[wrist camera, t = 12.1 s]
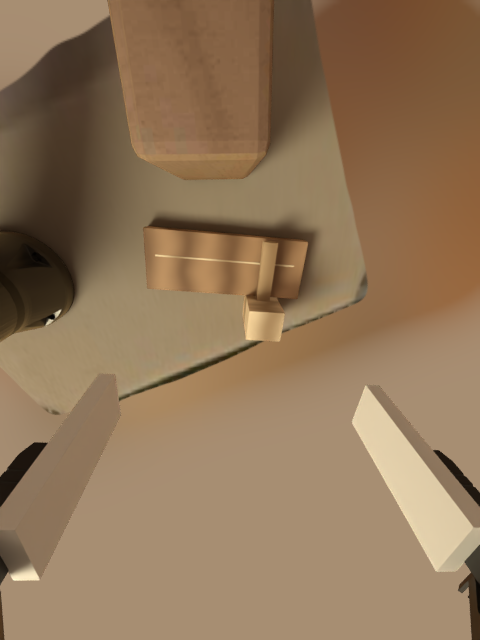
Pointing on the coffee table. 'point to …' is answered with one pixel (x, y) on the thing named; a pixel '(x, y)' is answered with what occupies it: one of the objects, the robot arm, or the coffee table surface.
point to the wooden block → (196, 83)
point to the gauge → (264, 301)
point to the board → (219, 262)
